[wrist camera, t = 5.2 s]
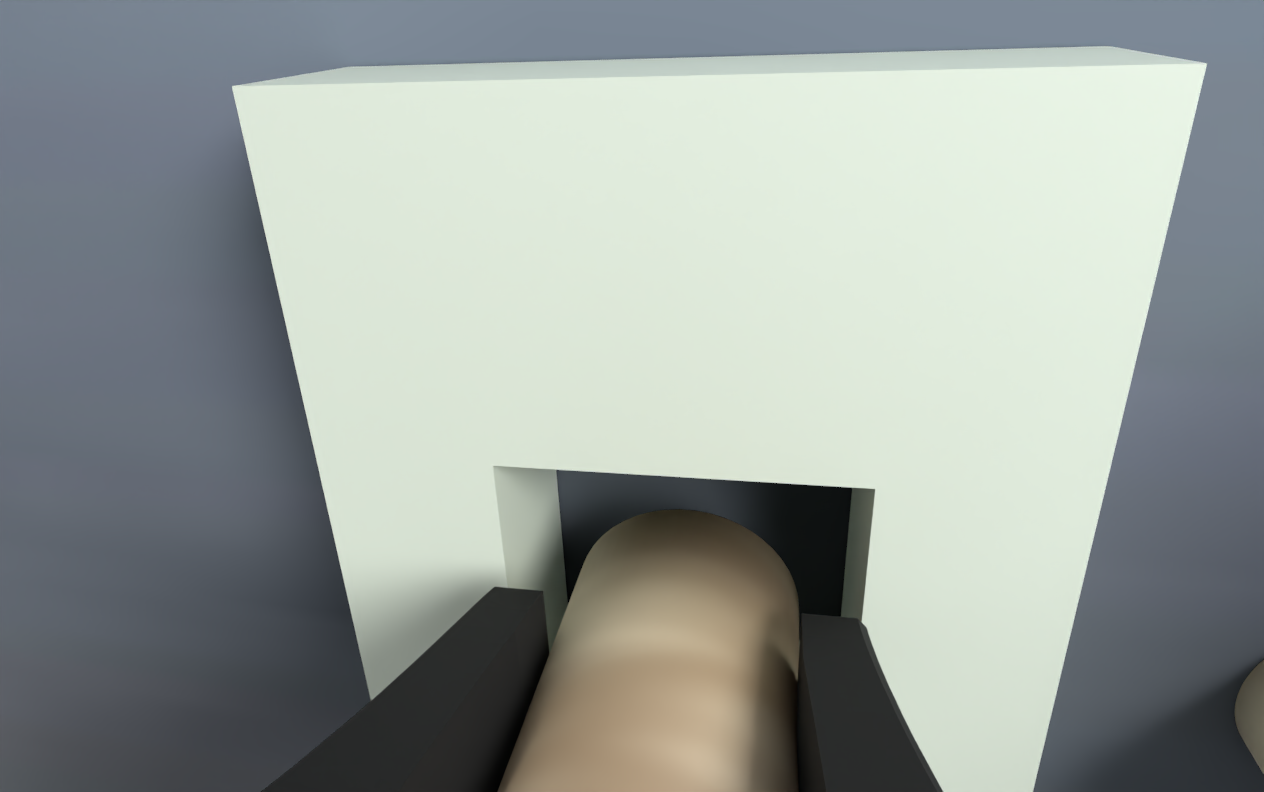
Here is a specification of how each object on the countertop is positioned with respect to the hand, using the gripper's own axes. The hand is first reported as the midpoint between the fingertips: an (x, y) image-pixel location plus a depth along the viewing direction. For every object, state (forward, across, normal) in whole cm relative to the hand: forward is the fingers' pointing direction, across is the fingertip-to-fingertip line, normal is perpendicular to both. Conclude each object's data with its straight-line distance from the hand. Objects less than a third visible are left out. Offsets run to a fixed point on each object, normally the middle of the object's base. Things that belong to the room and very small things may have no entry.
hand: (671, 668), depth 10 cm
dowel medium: (+2, 0, 0) cm, 2 cm away
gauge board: (+3, 0, 0) cm, 3 cm away
